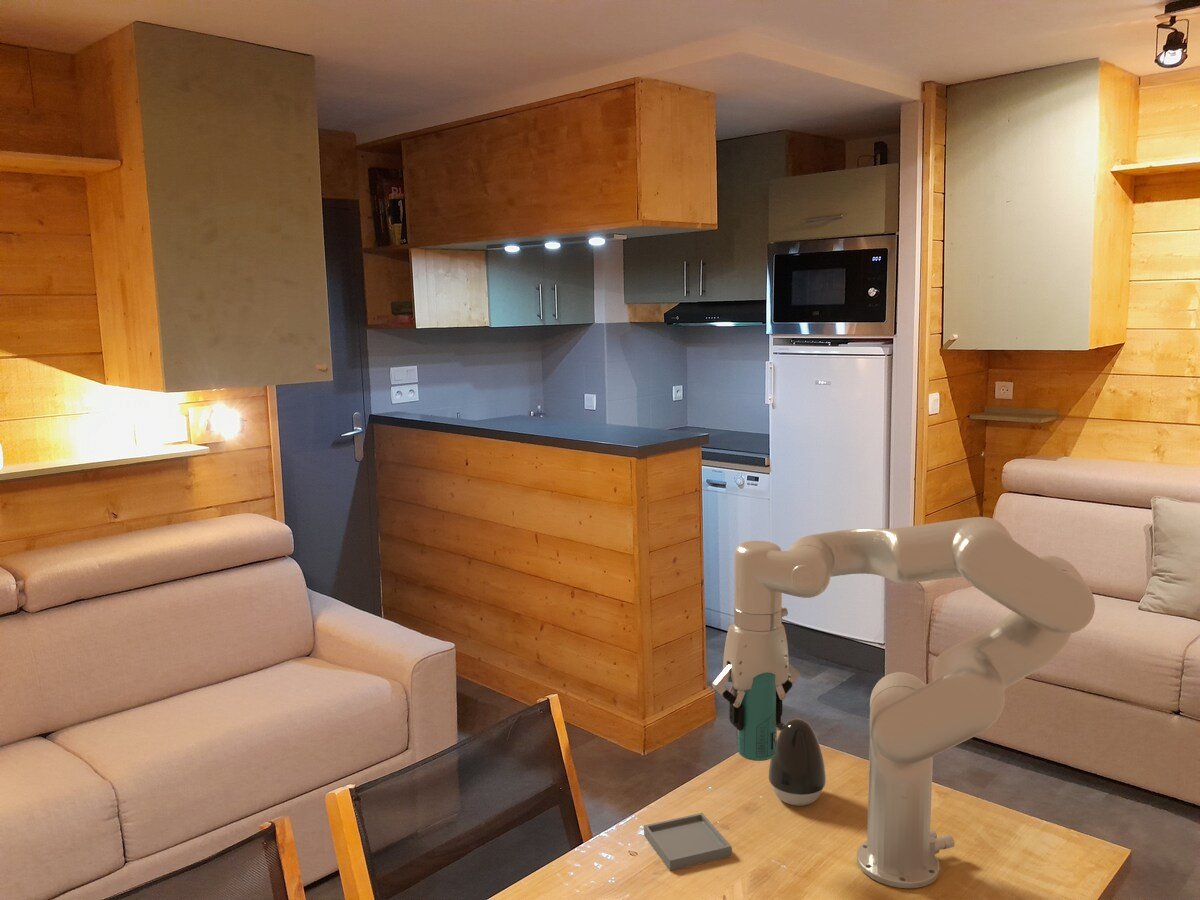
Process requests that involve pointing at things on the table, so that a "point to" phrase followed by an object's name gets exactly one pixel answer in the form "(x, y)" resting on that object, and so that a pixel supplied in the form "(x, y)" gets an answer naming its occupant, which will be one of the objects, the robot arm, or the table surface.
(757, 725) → the beverage bottle
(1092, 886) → the table surface
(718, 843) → the tray
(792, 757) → the pump dispenser
